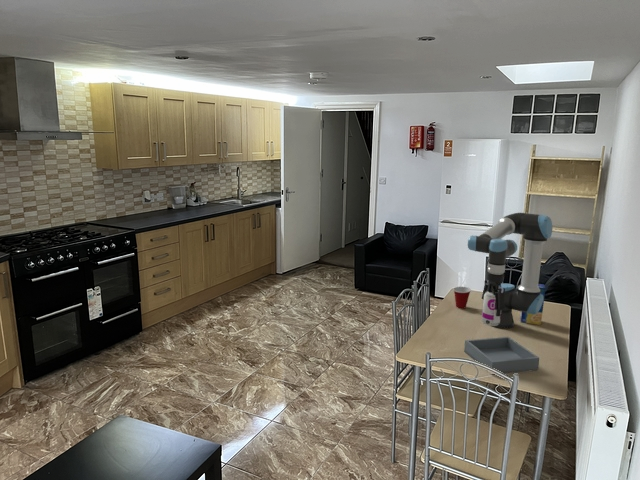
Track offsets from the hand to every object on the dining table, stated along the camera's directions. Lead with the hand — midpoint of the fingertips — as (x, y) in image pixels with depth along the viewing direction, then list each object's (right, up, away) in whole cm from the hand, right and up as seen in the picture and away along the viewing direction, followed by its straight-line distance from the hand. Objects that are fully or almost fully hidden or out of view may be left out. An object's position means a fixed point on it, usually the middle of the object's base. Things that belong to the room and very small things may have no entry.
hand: (491, 318), depth 229 cm
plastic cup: (+7, -5, +74) cm, 74 cm away
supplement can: (0, -2, +1) cm, 2 cm away
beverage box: (+41, -10, +52) cm, 67 cm away
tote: (+5, -20, +2) cm, 21 cm away
